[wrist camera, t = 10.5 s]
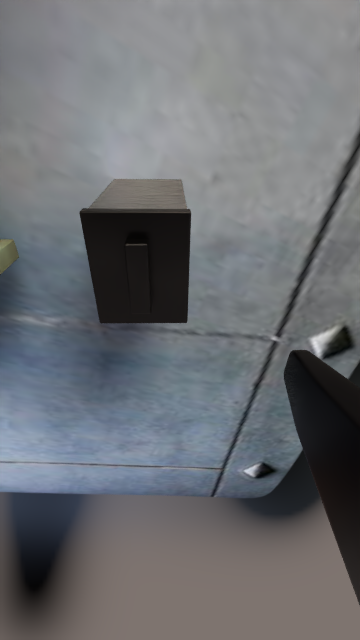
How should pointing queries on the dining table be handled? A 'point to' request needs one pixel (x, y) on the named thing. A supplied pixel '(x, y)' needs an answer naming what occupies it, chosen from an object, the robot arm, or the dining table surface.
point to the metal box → (139, 251)
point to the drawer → (7, 254)
